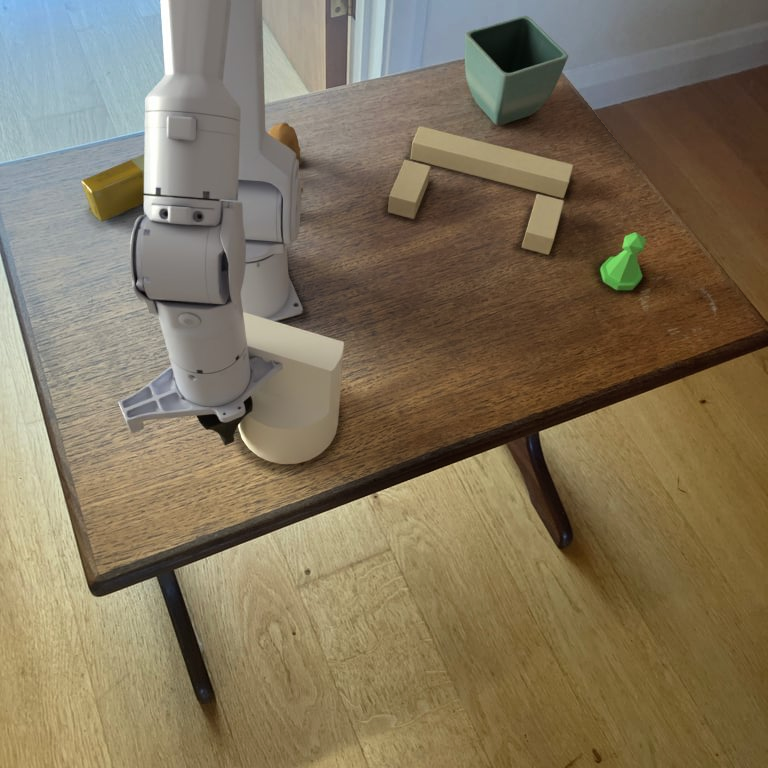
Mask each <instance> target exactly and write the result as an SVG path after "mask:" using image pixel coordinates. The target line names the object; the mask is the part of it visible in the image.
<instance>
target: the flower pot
mask: <svg viewBox="0 0 768 768" xmlns="http://www.w3.org/2000/svg"><path fill="white" fill-rule="evenodd" d="M568 59H569V54H568V53H567V52H566V51H565V50H564V49H563V48H562V47H561V46H560V45H559V44H557V43H556V42H555V40H554V39H552V37H550V36H549V35H548V34H547V33H546V32H545V31H544V30H543V29H542V28H541V27H540V26H539V25H538V24H537V23H536V22H535V21H534V20H533V19H532V18H531V17H529V16H528V15H521V16H517V17H515V18H511V19H507V20H505V21H500V22H498V23H494V24H491V25H487V26H483V27H480V28H476V29H473V30H469V31H467V32H466V33H465V34H464V72H465V78H466V82H467V86H468V89H469V92H470V94H471V95H472V98H473V99H474V102H475V103H476V105H477V106H479V108H480V109H481V110H482V111H483V112H484V113H485V115H486V116H487V117H488V118H489V120H490V121H492V123H493V124H494V125H495V126H503V125H505V124H508V123H512V122H514V121H517V120H521V119H524V118H528V117H530V116H532V115H533V114H535V112H537V111H538V110H539V109H540V108H541V107H543V105H544V104H545V103H546V102H547V101H548V100H549V98H550V97H551V96H552V94H553V92H554V91H555V89H556V87H557V84H558V82H559V80H560V78H561V75H562V73H563V70H564V68H565V66H566V64H567V61H568Z"/></svg>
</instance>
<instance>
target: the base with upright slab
mask: <svg viewBox="0 0 768 768" xmlns="http://www.w3.org/2000/svg"><path fill="white" fill-rule="evenodd" d="M243 316H244V324H245V332H246V340H247V347H248V355H249V357H250V358H255V357H257V356H258V357H262V358H263V360H264V361H265V362H270V360H272V361H274V362H275V364H279V363H282V364H283V369H282V370H281V371H279V372H278V373H277V374H276V375H275V376H273V377H272V378H271V379H270V380H269V381H267V382H266V383H265V384H264V385H263V386H262V387H260V388H259V389H258V390H257V391H256V392H254V393H253V394H252V395H251V398H252V402H253V408H252V412H250V413H249V414H247V415H246V416H245V417H244V418H243V419H242V420H241V422H240V423H239V425H238V426H237V428H238V431H239V435H240V437H241V440H242V441H243V442H244V444H245V445H246V447H247V448H248V450H250V451H251V452H252V453H253V454H255V455H256V456H257V457H259V458H260V459H263V460H265V461H268V462H269V463H274V464H280V465H297V464H300V463H304V462H308V461H311V460H312V459H314V458H316V457H318V456H319V455H321V454H322V453H323V452H324V451H325V450H326V449H327V448H328V447H329V446H330V445H331V443H332V442H333V440H334V439H335V436H336V434H337V431H338V430H337V429H338V426H339V415H340V404H341V403H340V402H341V391H342V390H341V388H342V375H343V366H344V365H343V364H344V348H345V342H344V341H342V340H338V339H335V338H332V337H329V336H325V335H323V334H318V333H315V332H312V331H308V330H305V329H302V328H298V327H295V326H291V325H288V324H285V323H282V322H279V321H272V320H268V319H265V318H262V317H258V316H255V315H252V314H248V313H245V312H243Z"/></svg>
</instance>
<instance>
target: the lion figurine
mask: <svg viewBox="0 0 768 768" xmlns="http://www.w3.org/2000/svg"><path fill="white" fill-rule="evenodd" d="M267 133H268V134H269V135H271V136H272V137H274V138H275V139H277V140H278V141H280V142H281V143H283V144H284V145H286V146H287V147H289V148H290V149H291V150H293V151H294V152H295V153H296V159H297V160H298V161H299V167H300V166H301V165H302V164H303V161H302V157H301V150H302V149H301V148H300V145H299V139H298V136H297V132H296V129H295V128H294V127H292V126H290V125H289V123H288V122H282V123H278V124H275V125H273V126H272V127H271V128H270V129H269V131H268V132H267ZM303 192H304V187H303V186H301V194H303Z"/></svg>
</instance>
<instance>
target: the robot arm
mask: <svg viewBox="0 0 768 768" xmlns="http://www.w3.org/2000/svg"><path fill="white" fill-rule="evenodd" d="M159 2H160V4H159V5H160V18H161V20H160V21H161V34H162V49H163V52H162V53H163V63H164V64H163V65H164V75H163V77H162V79H160V81H159V82H158V83H157V84H156V85H155V86H154V87H153V88H152V90H151V91H150V92H149V93H148V94H147V95H146V97H145V98H144V145H143V146H144V149H143V150H144V153H143V154H144V194H156V195H161V196H148V195H144V203H143V215H139V216H138V217H137V218H136V220H135V222H134V224H133V228H132V231H131V235H130V237H131V238H130V245H129V269H130V274H131V275H130V276H131V281H132V290H133V293H134V295H135V297H136V298H137V299H138V300H139V301H142V302H144V303H145V305H146V308H147V311H148V314H151V315H154V316H157V317H158V321H159V324H160V328H161V332H162V336H163V340H164V344H165V347H166V351H167V354H168V358H169V361H170V366H169V367H168V368H166V369H165V370H164V371H162V372H161V373H160V374H159V375H157V376H156V377H155V378H153V379H152V380H151V381H149V382H148V383H147V384H146V385H144V386H142V388H140V389H139V390H137V391H136V392H135V393H133V394H131V395H129V396H127V397H125V398H123V399H120V400H118V401H117V403H118V406H119V408H120V411H121V413H122V416H123V418H124V421H125V422H126V425H127V427H128V429H129V432H130V434H136V433H138V432H140V431H143V430H144V429H145V424H144V422H147V421H154V420H155V421H156V420H165V419H174V418H184V417H196V418H197V420H198V422H199V424H200V425H201V426H202V427H203V428H204V429H205V430H206V431H213V432H216V433H217V434H218V435H219V437H220V440H221V441H222V443H223V445H224V446H228V445H230V444H232V443H235V434H236V431H237V428H238V425H239V423H240V422H241V420H242V419H243V418H244V417H245V416H246V415H247V414H249V413H250V412H252V408H253V402H252V398H251V395H252V394H253V393H254V392H256V391H257V390H258V389H259V388H260V387H262V386H263V385H264V384H265V383H266V382H267V381H269V380H270V379H271V378H272V377H273V376H275V375H276V374H277V373H278V372H279V371H281V370H282V369H283V364H282V363H279V364H275V362H274V361H272V360H270V362H265V361H264V360H263V358H262V357H258V356H257V357H255V358H250V357H249V355H248V347H247V340H246V332H245V324H244V316H243V312H245V313H248V314H252V315H255V316H258V317H262V318H265V319H268V320H272V321H275V322H278V321H281V320H285V319H289V318H292V317H295V316H299V315H302V314H303V311H304V309H303V305H302V303H301V301H300V299H299V296H298V294H297V291H296V289H295V287H294V285H293V282H292V280H291V278H290V276H289V262H288V247H287V245H292V244H293V242H294V241H296V240H297V238H298V236H299V231H300V225H301V213H302V193H301V187H302V181H301V178H300V166H299V161H298V160H297V159H296V153H295V152H294V151H293V150H291V149H290V148H289V147H287V146H286V145H284V144H283V143H281V142H280V141H278V140H277V139H275V138H274V137H272V136H271V135H269V134H268V133H269V132H268V131H266V99H265V98H266V97H265V64H264V63H265V61H264V26H263V0H159Z"/></svg>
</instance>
